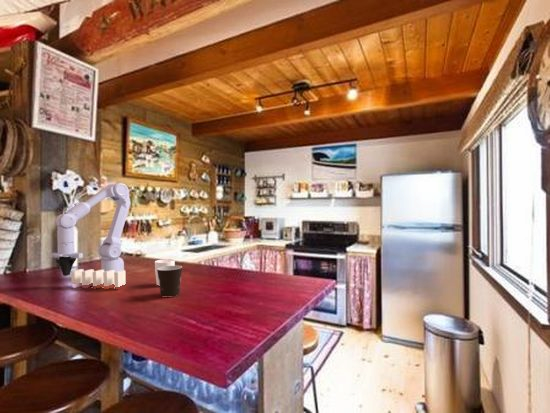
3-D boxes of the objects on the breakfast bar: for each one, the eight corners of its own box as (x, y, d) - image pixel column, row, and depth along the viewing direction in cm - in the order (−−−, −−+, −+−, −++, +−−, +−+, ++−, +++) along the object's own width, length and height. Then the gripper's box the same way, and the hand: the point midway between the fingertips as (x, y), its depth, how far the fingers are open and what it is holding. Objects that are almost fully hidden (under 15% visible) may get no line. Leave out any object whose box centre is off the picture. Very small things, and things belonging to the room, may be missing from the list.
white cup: (178, 282, 130) (177, 259, 130) (170, 287, 123) (169, 262, 123) (160, 282, 131) (160, 259, 131) (151, 287, 123) (151, 262, 123)
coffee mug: (178, 298, 107) (177, 270, 107) (153, 298, 107) (153, 270, 107) (188, 289, 119) (187, 263, 119) (166, 289, 119) (165, 264, 119)
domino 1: (80, 285, 128) (80, 269, 128) (83, 285, 128) (83, 269, 128) (71, 288, 124) (71, 271, 124) (74, 288, 124) (74, 271, 124)
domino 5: (122, 287, 124) (122, 270, 124) (125, 287, 124) (125, 270, 124) (114, 290, 120) (114, 272, 120) (118, 290, 120) (117, 272, 120)
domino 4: (111, 286, 125) (111, 269, 125) (115, 286, 125) (114, 269, 125) (103, 289, 121) (103, 272, 121) (107, 289, 121) (106, 272, 121)
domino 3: (101, 286, 126) (100, 269, 126) (104, 286, 126) (104, 269, 126) (92, 289, 122) (92, 271, 122) (96, 289, 122) (95, 271, 122)
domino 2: (90, 286, 127) (90, 269, 127) (94, 286, 127) (93, 269, 127) (82, 288, 123) (81, 271, 123) (85, 288, 123) (85, 271, 123)
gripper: (42, 243, 125) (43, 276, 125) (72, 243, 122) (73, 277, 122) (58, 241, 132) (58, 273, 132) (86, 241, 129) (87, 274, 129)
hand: (66, 275), depth 127 cm, fingers closed
